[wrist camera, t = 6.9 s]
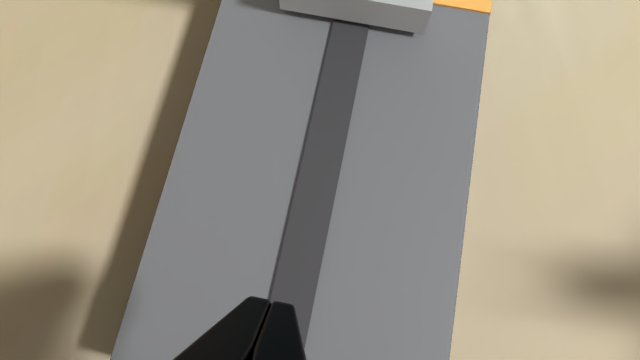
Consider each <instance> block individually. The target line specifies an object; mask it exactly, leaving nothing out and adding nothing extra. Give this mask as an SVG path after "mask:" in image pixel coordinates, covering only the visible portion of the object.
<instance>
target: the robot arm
mask: <svg viewBox="0 0 640 360" xmlns="http://www.w3.org/2000/svg"><path fill="white" fill-rule="evenodd" d="M173 360H307V359H306V355H305V350H304V346H303V341H302V337H301V332H300V328H299V323H298V318H297V314H296V309H295V307H294V305H292V304H289V303H284V302H279V301H273V302H272V303H271V301H270V300H269V299H265V298H260V297H255V296H249V297H247V298H246V299H245V300H244V301H242V302H241V303H240V304H239V305H238V306H236V307H235V308H234V309H233V310H232V311H230V312H229V313H228V314H227V315H226V316H224V317H223V318H222V319H221V320H220V321H218V322H217V323H216V324H215V325H214V326H212V327H211V328H210V329H209V330H208V331H206V332H205V333H204V334H203V335H202V336H200V337H199V338H198V339H197V340H195V341H194V342H193V343H192V344H191V345H189V346H188V347H187V348H186V349H185V350H183V351H182V352H181V353H180V354H179V355H177V356H176V357H175V358H174V359H173Z"/></svg>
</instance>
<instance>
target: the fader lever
mask: <svg viewBox="0 0 640 360" xmlns="http://www.w3.org/2000/svg"><path fill="white" fill-rule="evenodd" d="M433 1H434V0H279V4H280V9H282V10H288V11H294V12H299V13H305V14H311V15H317V16H322V17H328V18H334V19H339V20H345V21H351V22H357V23H362V24H368V25H374V26H380V27H385V28H391V29H397V30H402V31H408V32H414V33H420V34H424V32H425V29H426V27H427V24H428V21H429V18H430V15H431V12H432V7H433Z"/></svg>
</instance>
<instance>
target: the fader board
mask: <svg viewBox="0 0 640 360" xmlns="http://www.w3.org/2000/svg"><path fill="white" fill-rule="evenodd" d="M491 5H492V0H434V1H433V7H432V12H431V15H430V18H429V21H428V24H427V27H426V29H425V32H424V34H420V33H414V32H408V31H402V30H397V29H391V28H385V27H380V26H374V25H368V24H362V23H357V22H351V21H345V20H339V19H334V18H328V17H322V16H317V15H311V14H305V13H299V12H294V11H288V10H282V9H280V4H279V0H222V1H221V4H220V7H219V11H218V14H217V17H216V20H215V23H214V27H213V30H212V33H211V36H210V40H209V43H208V46H207V49H206V52H205V56H204V59H203V62H202V65H201V69H200V72H199V75H198V78H197V81H196V85H195V88H194V91H193V94H192V98H191V101H190V104H189V107H188V110H187V114H186V117H185V120H184V123H183V127H182V130H181V133H180V136H179V139H178V143H177V146H176V149H175V152H174V156H173V159H172V162H171V165H170V168H169V172H168V175H167V178H166V181H165V185H164V188H163V191H162V194H161V197H160V201H159V204H158V207H157V210H156V213H155V217H154V220H153V223H152V226H151V230H150V233H149V236H148V239H147V242H146V246H145V249H144V252H143V255H142V259H141V262H140V265H139V268H138V271H137V275H136V278H135V281H134V284H133V288H132V291H131V294H130V297H129V300H128V304H127V307H126V310H125V313H124V317H123V320H122V323H121V326H120V329H119V333H118V336H117V339H116V342H115V346H114V349H113V352H112V355H111V358H110V360H173V359H174V358H175V357H176V356H177V355H179V354H180V353H181V352H182V351H183V350H185V349H186V348H187V347H188V346H189V345H191V344H192V343H193V342H194V341H195V340H197V339H198V338H199V337H200V336H202V335H203V334H204V333H205V332H206V331H208V330H209V329H210V328H211V327H212V326H214V325H215V324H216V323H217V322H218V321H220V320H221V319H222V318H223V317H224V316H226V315H227V314H228V313H229V312H230V311H232V310H233V309H234V308H235V307H236V306H238V305H239V304H240V303H241V302H242V301H244V300H245V299H246V298H247V297H249V296H255V297H260V298H265V299H269V300H270V301H271V303H272V302H273V301H279V302H284V303H289V304H292V305H294V307H295V309H296V314H297V318H298V323H299V328H300V332H301V337H302V341H303V346H304V350H305V355H306V359H307V360H449V357H450V349H451V340H452V332H453V323H454V315H455V306H456V298H457V289H458V281H459V272H460V263H461V255H462V246H463V238H464V229H465V221H466V212H467V204H468V195H469V187H470V178H471V170H472V161H473V153H474V144H475V135H476V127H477V118H478V110H479V101H480V93H481V84H482V76H483V67H484V59H485V50H486V42H487V33H488V24H489V16H490V13H491Z"/></svg>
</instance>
